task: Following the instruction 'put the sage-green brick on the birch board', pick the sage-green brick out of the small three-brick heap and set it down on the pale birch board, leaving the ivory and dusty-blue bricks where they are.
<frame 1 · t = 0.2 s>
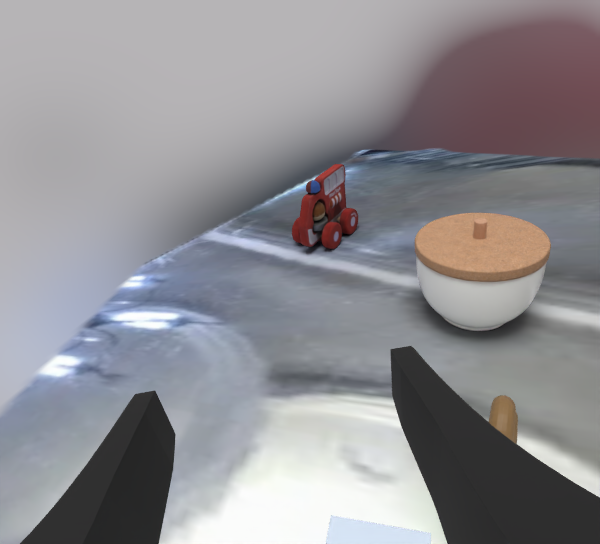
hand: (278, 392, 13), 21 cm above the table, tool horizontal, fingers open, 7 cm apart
toy fire truck: (326, 238, 69), on the table
snail figurine: (486, 524, 29), on the table
lidded bowl: (473, 312, 48), on the table
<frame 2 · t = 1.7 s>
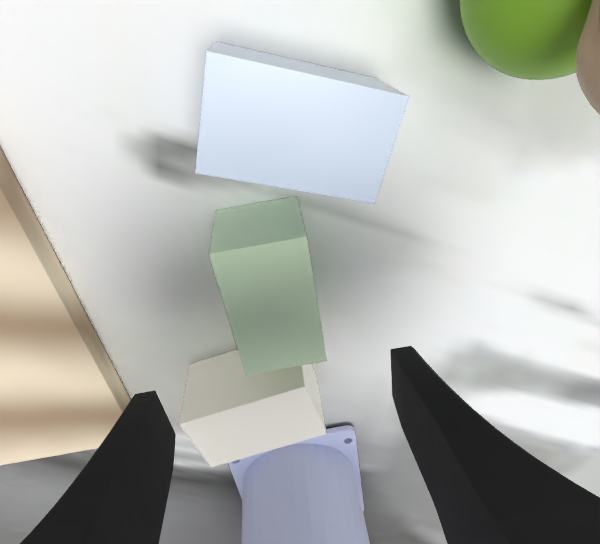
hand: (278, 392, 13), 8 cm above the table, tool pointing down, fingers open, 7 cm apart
ivory brick: (254, 368, 23), on the table
green brick: (269, 261, 20), on the table
blue brick: (290, 109, 17), on the table
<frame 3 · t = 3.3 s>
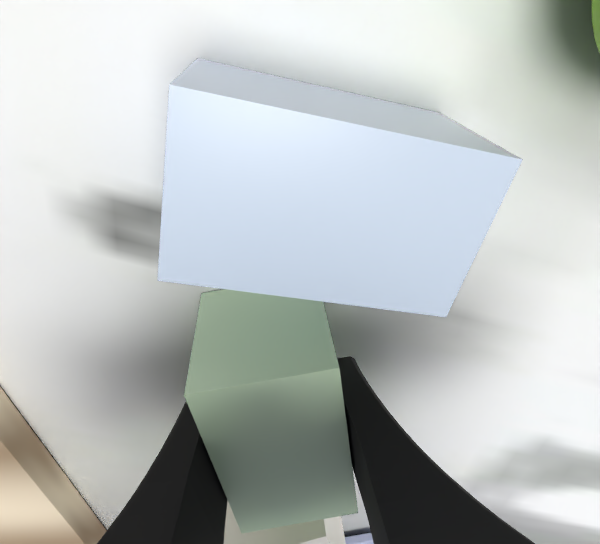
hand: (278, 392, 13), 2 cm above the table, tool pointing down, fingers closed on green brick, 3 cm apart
ivory brick: (255, 474, 18), on the table
green brick: (275, 356, 15), on the table, touching gripper
blue brick: (308, 157, 11), on the table
when the fingers open (4 cm above the table, at t = 6.9 s): green brick stays where it is, resting on birch board.
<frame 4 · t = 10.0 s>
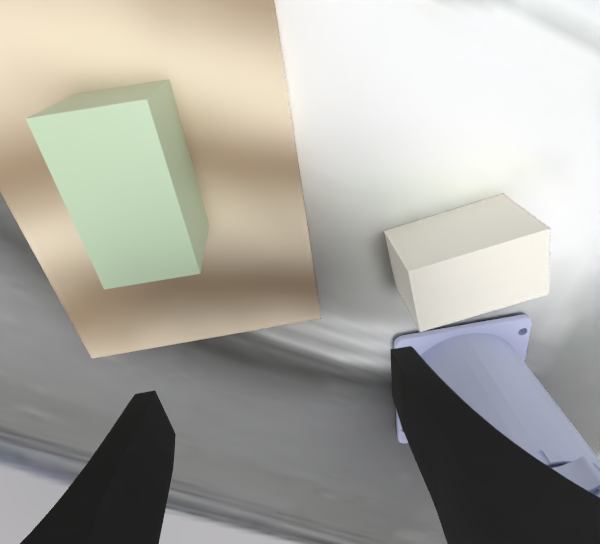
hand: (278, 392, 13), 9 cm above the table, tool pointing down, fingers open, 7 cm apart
ivory brick: (445, 241, 22), on the table
green brick: (148, 166, 17), point 1 cm above the table, touching birch board
birch board: (155, 162, 18), on the table
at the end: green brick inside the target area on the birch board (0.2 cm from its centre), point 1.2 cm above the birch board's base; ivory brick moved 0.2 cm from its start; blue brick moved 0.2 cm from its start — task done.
